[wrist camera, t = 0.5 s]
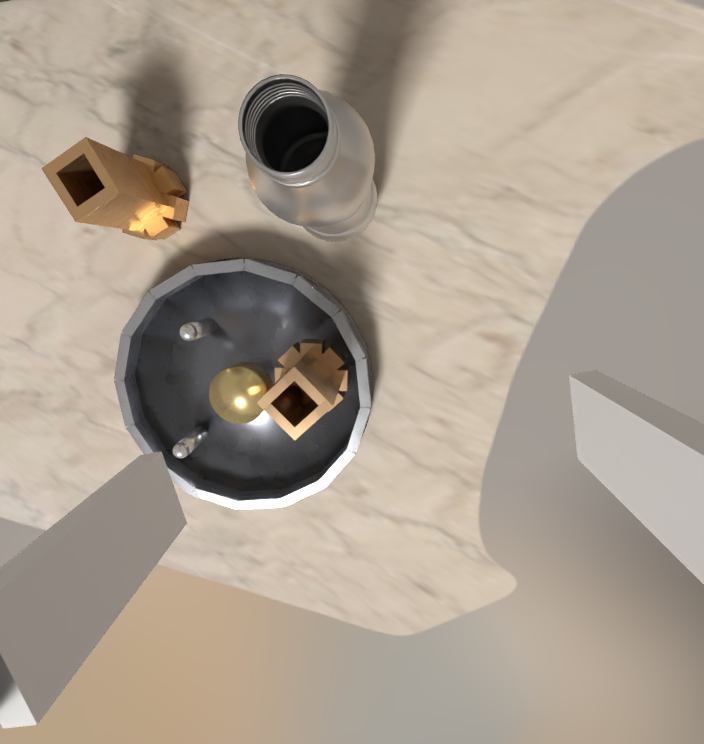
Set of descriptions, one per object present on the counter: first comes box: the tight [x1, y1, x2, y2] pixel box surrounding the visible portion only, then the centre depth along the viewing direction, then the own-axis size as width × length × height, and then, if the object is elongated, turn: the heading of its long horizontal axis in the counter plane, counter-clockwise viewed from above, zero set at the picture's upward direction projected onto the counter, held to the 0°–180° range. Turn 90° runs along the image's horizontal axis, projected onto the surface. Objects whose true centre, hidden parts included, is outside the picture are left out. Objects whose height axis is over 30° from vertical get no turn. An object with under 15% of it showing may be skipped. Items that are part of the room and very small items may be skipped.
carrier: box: [114, 258, 373, 510], centre depth 37 cm, size 23×23×6 cm
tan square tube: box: [257, 339, 350, 440], centre depth 34 cm, size 6×6×9 cm
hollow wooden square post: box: [42, 137, 189, 240], centre depth 32 cm, size 6×6×9 cm
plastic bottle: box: [238, 74, 377, 242], centre depth 26 cm, size 6×7×20 cm
